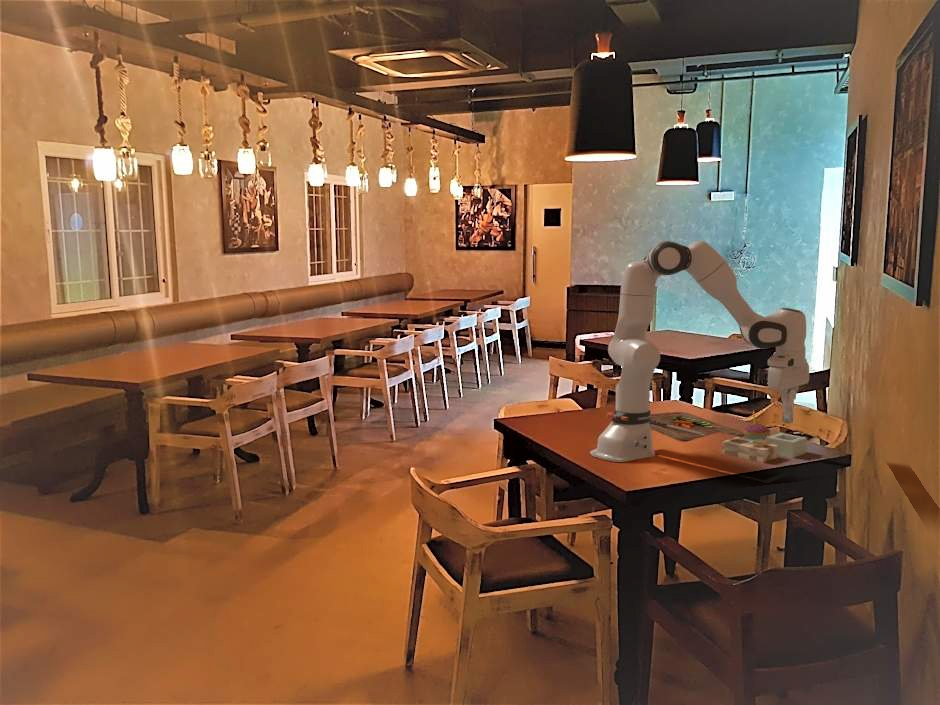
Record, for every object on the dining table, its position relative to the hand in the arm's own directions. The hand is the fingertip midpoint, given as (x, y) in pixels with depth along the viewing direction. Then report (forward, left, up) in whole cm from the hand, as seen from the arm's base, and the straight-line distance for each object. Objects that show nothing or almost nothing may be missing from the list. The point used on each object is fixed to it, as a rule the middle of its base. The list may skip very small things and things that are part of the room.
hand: (788, 400), depth 241 cm
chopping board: (+9, +46, -19) cm, 51 cm away
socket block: (-12, +6, -18) cm, 23 cm away
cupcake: (+6, +14, -19) cm, 24 cm away
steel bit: (0, 0, -7) cm, 7 cm away
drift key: (-12, +2, -18) cm, 22 cm away
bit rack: (0, 0, -18) cm, 18 cm away
